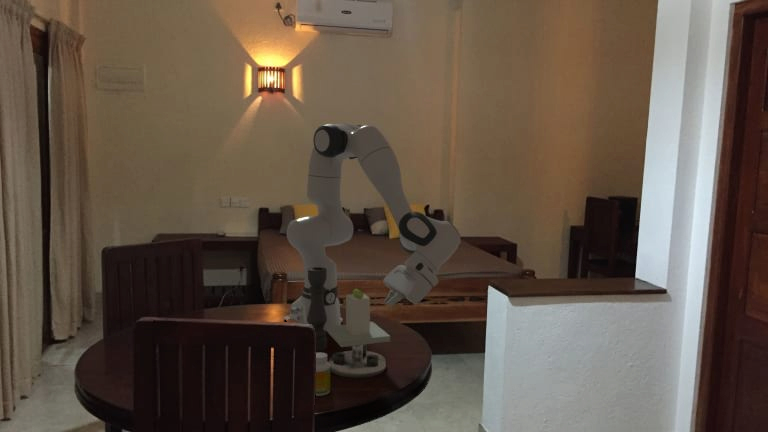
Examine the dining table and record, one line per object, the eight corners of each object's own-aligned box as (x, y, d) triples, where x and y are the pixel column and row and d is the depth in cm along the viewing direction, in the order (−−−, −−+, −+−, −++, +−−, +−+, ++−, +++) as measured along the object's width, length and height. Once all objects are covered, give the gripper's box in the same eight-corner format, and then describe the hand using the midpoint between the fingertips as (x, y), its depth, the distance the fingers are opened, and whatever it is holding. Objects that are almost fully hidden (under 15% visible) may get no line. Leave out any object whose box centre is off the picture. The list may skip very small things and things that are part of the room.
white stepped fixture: (372, 326, 168) (372, 282, 166) (390, 341, 155) (390, 294, 153) (327, 331, 163) (326, 286, 161) (341, 347, 150) (341, 298, 148)
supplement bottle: (329, 396, 140) (330, 358, 139) (308, 396, 140) (308, 358, 139) (330, 387, 146) (330, 351, 145) (309, 387, 145) (309, 351, 144)
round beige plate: (373, 354, 170) (374, 327, 169) (394, 373, 155) (394, 344, 154) (322, 360, 164) (322, 332, 163) (338, 381, 149) (338, 350, 149)
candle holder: (312, 352, 170) (312, 271, 168) (303, 346, 176) (303, 268, 173) (330, 349, 174) (330, 269, 171) (321, 343, 179) (322, 266, 176)
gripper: (398, 255, 172) (367, 288, 170) (427, 268, 153) (393, 306, 151) (411, 269, 174) (381, 302, 172) (441, 283, 155) (408, 321, 153)
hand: (387, 304), depth 161 cm, fingers closed
